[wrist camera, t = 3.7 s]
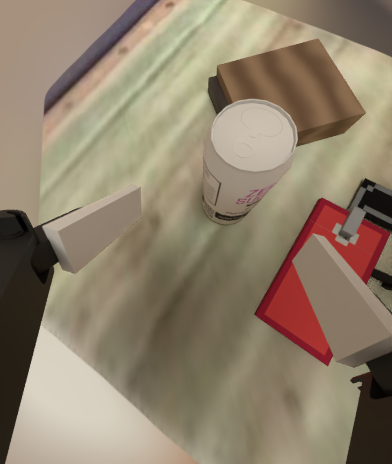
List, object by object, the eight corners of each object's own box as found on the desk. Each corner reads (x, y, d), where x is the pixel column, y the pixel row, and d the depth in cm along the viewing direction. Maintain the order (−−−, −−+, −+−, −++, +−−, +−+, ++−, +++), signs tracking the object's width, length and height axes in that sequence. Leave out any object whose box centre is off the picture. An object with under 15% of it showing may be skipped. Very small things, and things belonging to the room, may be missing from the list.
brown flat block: (304, 65, 33) (318, 38, 29) (343, 133, 29) (365, 113, 25) (208, 91, 32) (209, 67, 28) (236, 163, 29) (241, 147, 25)
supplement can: (217, 175, 28) (234, 79, 14) (256, 196, 27) (322, 118, 12) (193, 210, 27) (184, 148, 12) (234, 234, 26) (277, 197, 11)
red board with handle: (420, 210, 26) (334, 168, 28) (446, 204, 23) (348, 158, 25) (345, 377, 22) (252, 312, 24) (365, 393, 19) (258, 319, 21)
